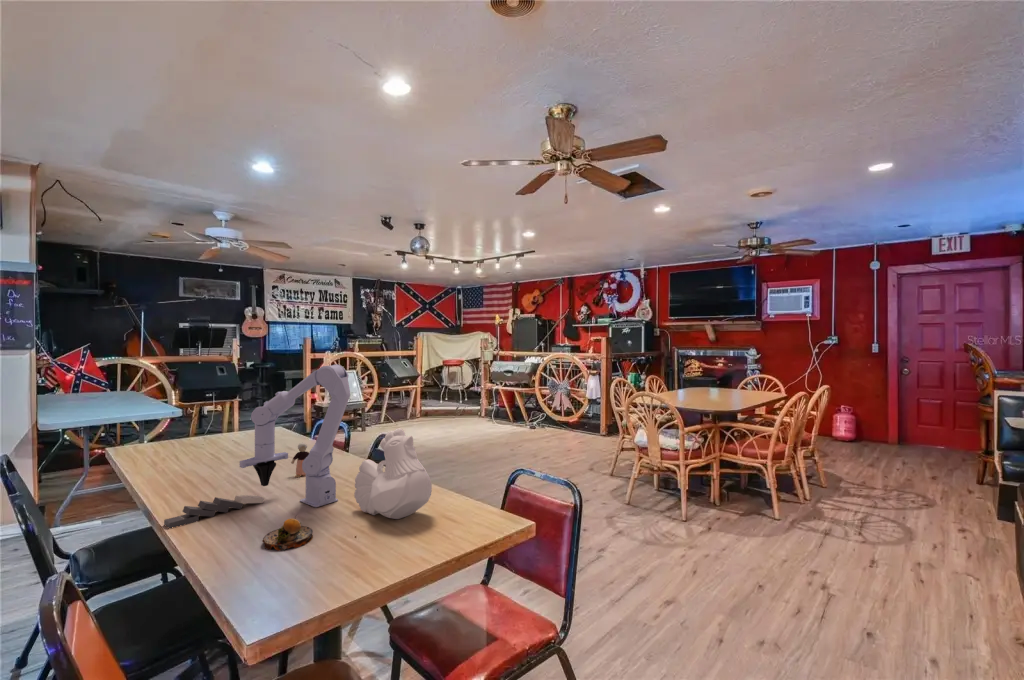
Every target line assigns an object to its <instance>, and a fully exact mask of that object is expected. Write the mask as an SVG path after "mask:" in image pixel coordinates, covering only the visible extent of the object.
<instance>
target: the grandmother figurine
mask: <svg viewBox="0 0 1024 680" xmlns="http://www.w3.org/2000/svg"><path fill="white" fill-rule="evenodd" d="M307 448H308V444H306V443H305V442H300V443H299V444H298V445H297V449H298V451H299V452H298V451H297V453H295V455H294V456H293V458H292V460H291V462H290V463H291V464H292V465H293V464H294V463H295V462H296V467H295V476H294V478H301V476H302V477H306V473H305V472H304V471H303V469H302V463H303V461H304V459H305V458H306V457H307V456H308V455H309V452H310V451H309V452H308V451H306V450H307Z"/></svg>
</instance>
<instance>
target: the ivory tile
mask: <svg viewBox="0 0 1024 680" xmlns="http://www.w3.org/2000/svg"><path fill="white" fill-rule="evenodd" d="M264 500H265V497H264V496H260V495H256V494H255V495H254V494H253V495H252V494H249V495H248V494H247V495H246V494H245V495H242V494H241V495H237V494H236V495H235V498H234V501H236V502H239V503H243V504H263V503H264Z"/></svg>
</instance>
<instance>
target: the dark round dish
mask: <svg viewBox="0 0 1024 680" xmlns="http://www.w3.org/2000/svg"><path fill="white" fill-rule="evenodd" d="M297 515H298V514H296V515H295V517H297ZM301 524H302V522H300V521H299V520H298V519H297V518H288V519H286V520H285V521H284V522H283V524H282V526H281V527H280V528H277V529H275V530H272V531H270V532H268V533H266V535H264V537H263V538H262V540H261V542H262V543H263V544H264V549H266V550H268V551H272V548H274V549H275V550H276V551H277V552H280V551H285V550H286V549H290V548H294V549H297V548H300V547H302V545H304V546H305V545H307V544H308V543H310V542H311V541H312V540H313V538H314V534H313V531H314V530H313V529H312V527H309V526H303V525H301Z"/></svg>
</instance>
